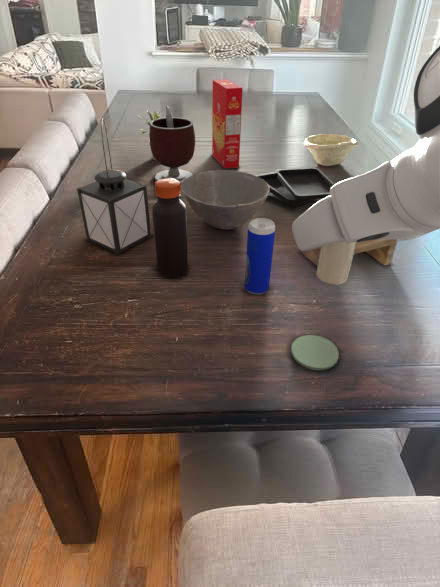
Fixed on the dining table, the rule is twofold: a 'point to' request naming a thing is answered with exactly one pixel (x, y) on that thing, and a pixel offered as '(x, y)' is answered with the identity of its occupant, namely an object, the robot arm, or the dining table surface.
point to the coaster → (314, 352)
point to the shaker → (335, 262)
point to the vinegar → (170, 229)
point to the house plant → (149, 124)
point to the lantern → (114, 209)
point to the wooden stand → (375, 248)
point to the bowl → (329, 148)
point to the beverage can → (259, 255)
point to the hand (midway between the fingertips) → (337, 235)
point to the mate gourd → (172, 145)
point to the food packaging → (226, 122)
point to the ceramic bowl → (225, 196)
